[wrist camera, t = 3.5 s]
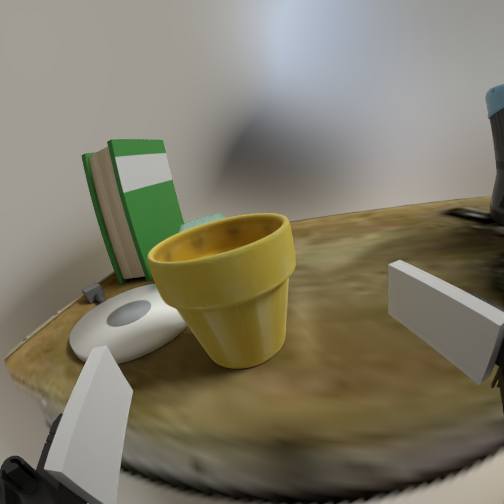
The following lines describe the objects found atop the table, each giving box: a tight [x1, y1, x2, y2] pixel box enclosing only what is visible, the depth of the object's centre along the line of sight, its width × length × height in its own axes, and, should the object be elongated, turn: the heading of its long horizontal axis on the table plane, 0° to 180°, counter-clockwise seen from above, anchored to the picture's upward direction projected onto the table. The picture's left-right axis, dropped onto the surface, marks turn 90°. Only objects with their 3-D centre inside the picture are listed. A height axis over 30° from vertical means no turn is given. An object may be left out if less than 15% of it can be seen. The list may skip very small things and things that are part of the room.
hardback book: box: [82, 139, 184, 284], centre depth 49 cm, size 18×7×24 cm, turn 169°
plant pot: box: [147, 213, 296, 369], centre depth 21 cm, size 10×10×10 cm
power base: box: [69, 283, 188, 364], centre depth 33 cm, size 26×17×2 cm, turn 50°
